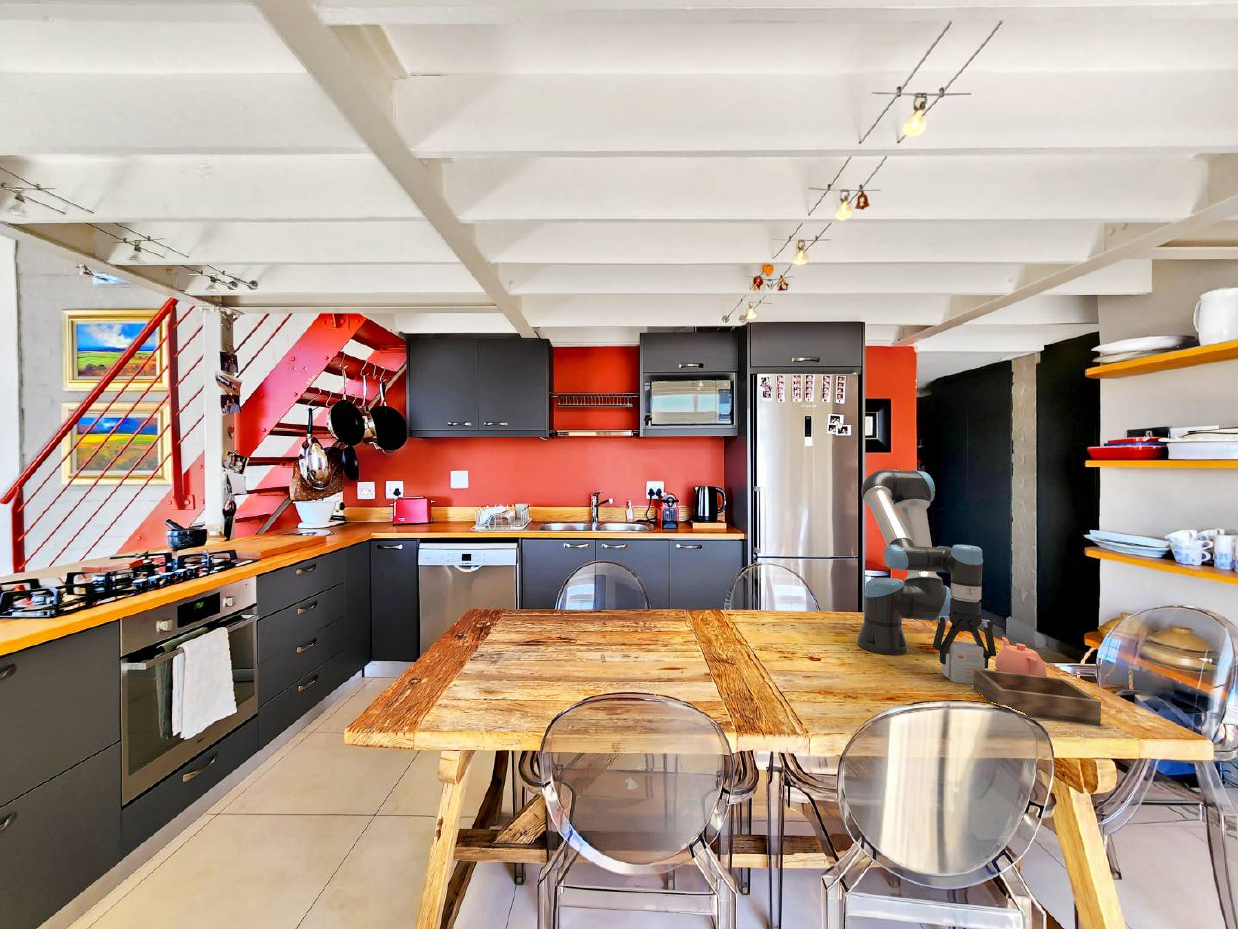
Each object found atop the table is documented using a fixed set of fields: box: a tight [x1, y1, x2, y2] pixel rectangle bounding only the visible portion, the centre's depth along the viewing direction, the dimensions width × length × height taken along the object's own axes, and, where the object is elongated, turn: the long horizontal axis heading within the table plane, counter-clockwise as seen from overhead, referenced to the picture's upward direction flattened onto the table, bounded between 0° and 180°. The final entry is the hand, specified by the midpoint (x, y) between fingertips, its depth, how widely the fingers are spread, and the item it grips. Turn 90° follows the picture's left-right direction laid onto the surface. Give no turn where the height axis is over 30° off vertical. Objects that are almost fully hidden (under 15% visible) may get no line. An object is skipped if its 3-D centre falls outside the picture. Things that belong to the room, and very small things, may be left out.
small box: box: [946, 640, 984, 685], centre depth 154 cm, size 8×6×10 cm
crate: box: [973, 669, 1102, 726], centre depth 138 cm, size 21×15×6 cm
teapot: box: [994, 636, 1048, 677], centre depth 160 cm, size 12×18×10 cm
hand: (963, 677), depth 154 cm, fingers closed on small box, 8 cm apart
